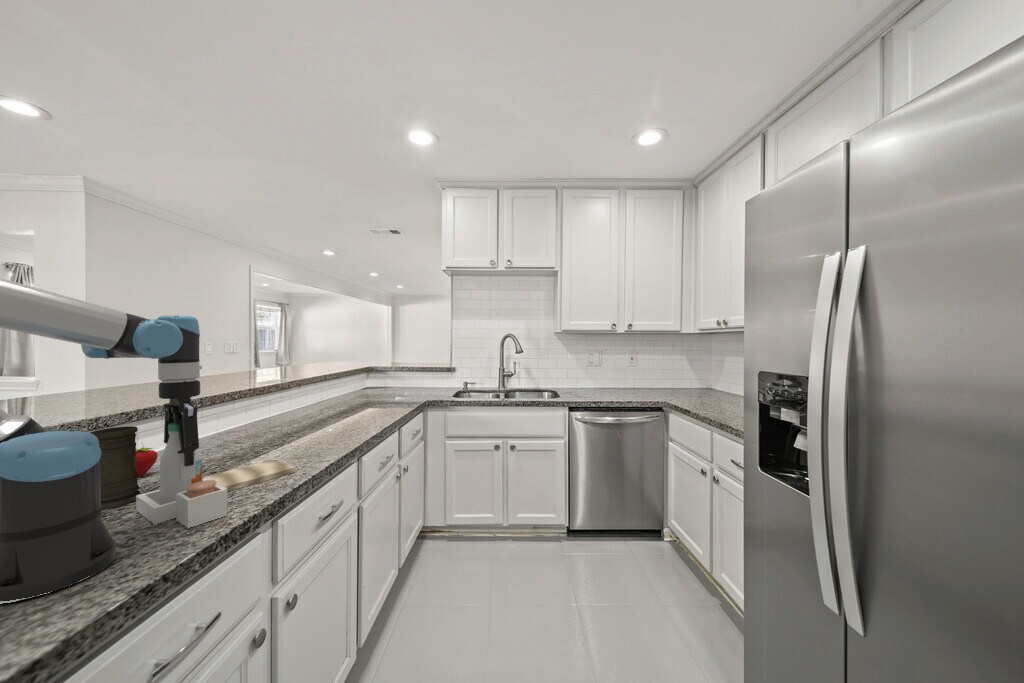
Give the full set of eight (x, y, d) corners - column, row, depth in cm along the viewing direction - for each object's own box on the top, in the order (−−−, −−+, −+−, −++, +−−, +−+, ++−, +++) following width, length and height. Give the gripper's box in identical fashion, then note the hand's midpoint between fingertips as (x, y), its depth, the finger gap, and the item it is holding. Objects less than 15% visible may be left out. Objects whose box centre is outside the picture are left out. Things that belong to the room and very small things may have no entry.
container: (107, 511, 90) (105, 434, 90) (78, 508, 92) (76, 433, 92) (150, 495, 99) (149, 426, 99) (123, 493, 101) (121, 425, 101)
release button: (191, 516, 82) (191, 490, 82) (183, 511, 85) (182, 485, 85) (220, 507, 86) (220, 482, 86) (211, 502, 89) (210, 478, 89)
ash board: (225, 492, 100) (225, 486, 100) (204, 482, 108) (204, 477, 108) (295, 472, 115) (295, 467, 115) (272, 464, 123) (272, 459, 123)
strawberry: (123, 477, 114) (122, 443, 114) (158, 470, 119) (157, 438, 119) (122, 482, 109) (121, 447, 109) (158, 475, 114) (157, 442, 114)
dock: (168, 535, 78) (167, 506, 78) (136, 510, 90) (135, 484, 90) (243, 510, 89) (242, 484, 89) (205, 491, 101) (205, 468, 101)
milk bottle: (179, 514, 88) (178, 426, 88) (151, 512, 89) (149, 425, 89) (211, 500, 95) (209, 419, 95) (184, 498, 96) (183, 419, 96)
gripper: (215, 380, 90) (217, 479, 90) (184, 377, 101) (185, 464, 101) (174, 384, 83) (176, 489, 83) (145, 380, 95) (147, 473, 95)
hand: (181, 476), depth 92 cm, fingers closed on milk bottle, 7 cm apart
